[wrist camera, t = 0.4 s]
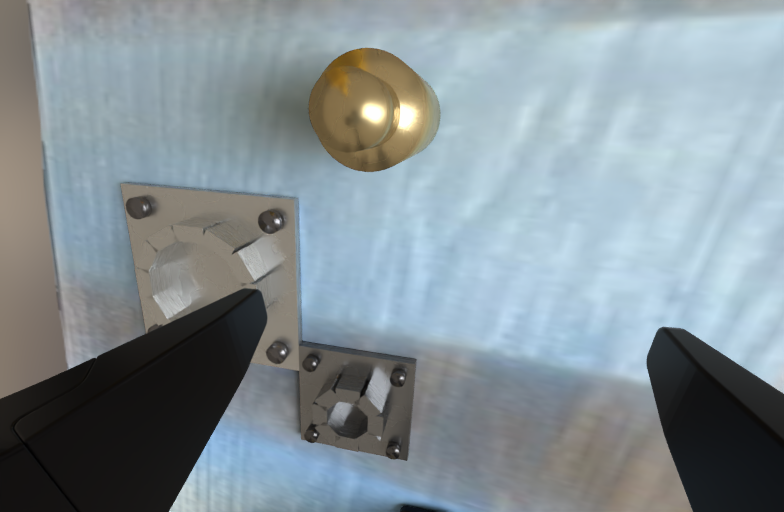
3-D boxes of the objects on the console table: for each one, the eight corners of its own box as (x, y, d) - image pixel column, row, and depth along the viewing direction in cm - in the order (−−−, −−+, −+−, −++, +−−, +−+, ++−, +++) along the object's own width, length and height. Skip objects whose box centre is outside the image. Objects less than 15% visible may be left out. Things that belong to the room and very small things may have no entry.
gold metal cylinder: (436, 160, 22) (410, 185, 13) (359, 155, 23) (285, 175, 14) (444, 73, 20) (420, 34, 12) (361, 70, 21) (280, 31, 12)
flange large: (302, 365, 28) (287, 386, 26) (154, 340, 30) (128, 358, 28) (298, 198, 24) (280, 205, 22) (127, 182, 26) (95, 187, 24)
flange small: (408, 454, 29) (403, 479, 27) (304, 433, 30) (291, 456, 28) (416, 359, 26) (411, 379, 24) (302, 341, 27) (288, 358, 25)
